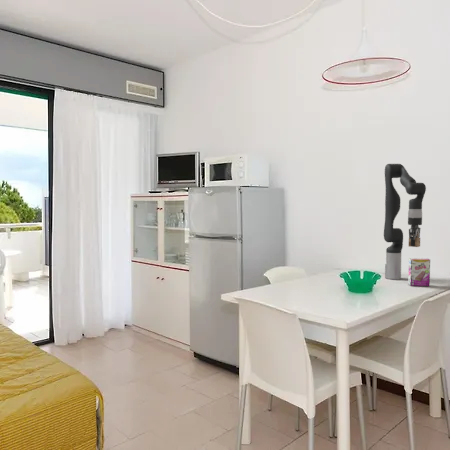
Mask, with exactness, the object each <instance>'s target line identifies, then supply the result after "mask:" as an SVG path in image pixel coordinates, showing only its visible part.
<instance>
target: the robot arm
mask: <svg viewBox="0 0 450 450" xmlns="http://www.w3.org/2000/svg"><path fill="white" fill-rule="evenodd" d="M398 178H399V182H400V184H401V185H402V186H403V187H404V188H405V193H407V194H408V195H410V196H413V195H414V196H415V198H414V197H413V198H411V199H409V200H408V212H407V215H408V216H407V225H408V226H410V228H409V229H408V236H409V237H408V240H409V239H410V240H411V246H415V238H421V229H422V228H421V227H420V226H422V224H423V201H424V197H425V195H426V194H425V193H426V191H427V187H426V185H425V183H424V182H417V181H416V179H415V178H413V177H412V176H411V175H410V174H409V173H408V170H407V169H406V168H405V166H404V165H402V164H401V163H387V164H386V165H385V167H384V181H385V183H384V184H385V185H384V186H385V199H384V200H385V203H384V205H385V206H384V208H385V209H384V210H385V211H384V213H385V214H384V226H383V239H384V241H385V242H386V243H391V245H390V246H388V247H386V249H385V254H386V258H385V262H386V263H385V264H384V265H385V266H384V279H388V280H401V279H402V250H403V247H404V246H403V245H404V244H403V243H404V232H403V230H402V229H401V228H398V227H394V221H395V219H396V217H397V215H398V214H399V212H400V210H401V196H400V194H399V193H398V191H397V189H396V188H395V186H394V183H393V179H398Z"/></svg>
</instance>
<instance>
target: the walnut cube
mask: <svg viewBox="0 0 450 450" xmlns="http://www.w3.org/2000/svg"><path fill="white" fill-rule="evenodd" d="M408 247H412V248H419V247H421V237H419V238H415V246H411V240H410V239H409V238H408Z"/></svg>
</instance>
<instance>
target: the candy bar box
mask: <svg viewBox="0 0 450 450" xmlns="http://www.w3.org/2000/svg"><path fill="white" fill-rule="evenodd" d="M430 279H431V259H430V258H428V257H427V258H423V257H422V258H420V257H419V258H418V257H417V258H416V257H414V258H413V257H409V258H408V279H407V280H408V281H407V285H408V286H410V287H430V284H431V283H430Z"/></svg>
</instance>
